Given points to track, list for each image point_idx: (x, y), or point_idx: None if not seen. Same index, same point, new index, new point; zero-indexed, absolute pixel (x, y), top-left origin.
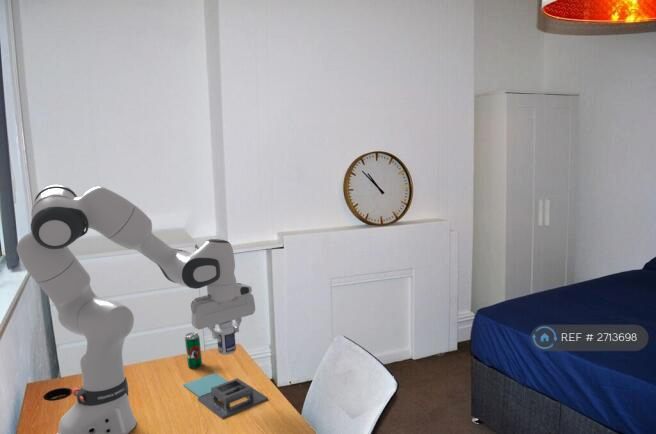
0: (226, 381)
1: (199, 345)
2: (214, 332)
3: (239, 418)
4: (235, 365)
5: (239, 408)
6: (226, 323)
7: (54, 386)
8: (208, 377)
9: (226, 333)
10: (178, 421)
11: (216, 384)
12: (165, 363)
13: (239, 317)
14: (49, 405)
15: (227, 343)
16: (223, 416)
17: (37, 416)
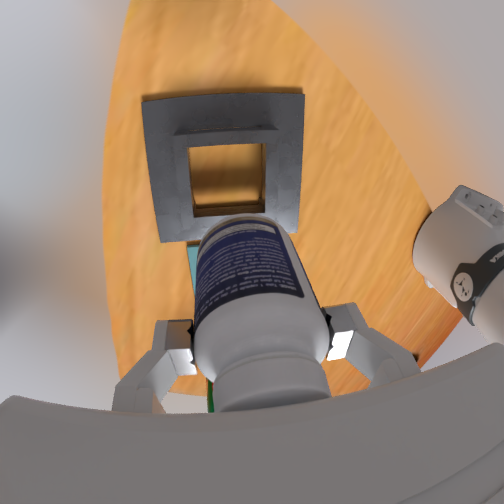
0: (195, 268)
1: (211, 397)
2: (375, 335)
3: (265, 61)
4: (144, 325)
5: (242, 99)
6: (294, 386)
7: None
8: None
9: (293, 303)
10: (377, 169)
11: None
12: None
13: (132, 417)
14: (427, 344)
15: (276, 250)
16: (299, 94)
17: (449, 325)
